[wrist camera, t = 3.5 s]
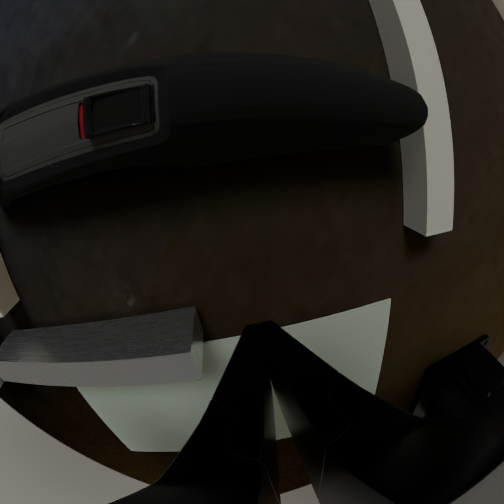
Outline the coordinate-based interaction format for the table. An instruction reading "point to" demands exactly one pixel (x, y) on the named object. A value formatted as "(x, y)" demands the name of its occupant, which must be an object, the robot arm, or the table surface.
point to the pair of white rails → (412, 147)
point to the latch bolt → (108, 352)
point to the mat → (213, 366)
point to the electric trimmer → (197, 116)
